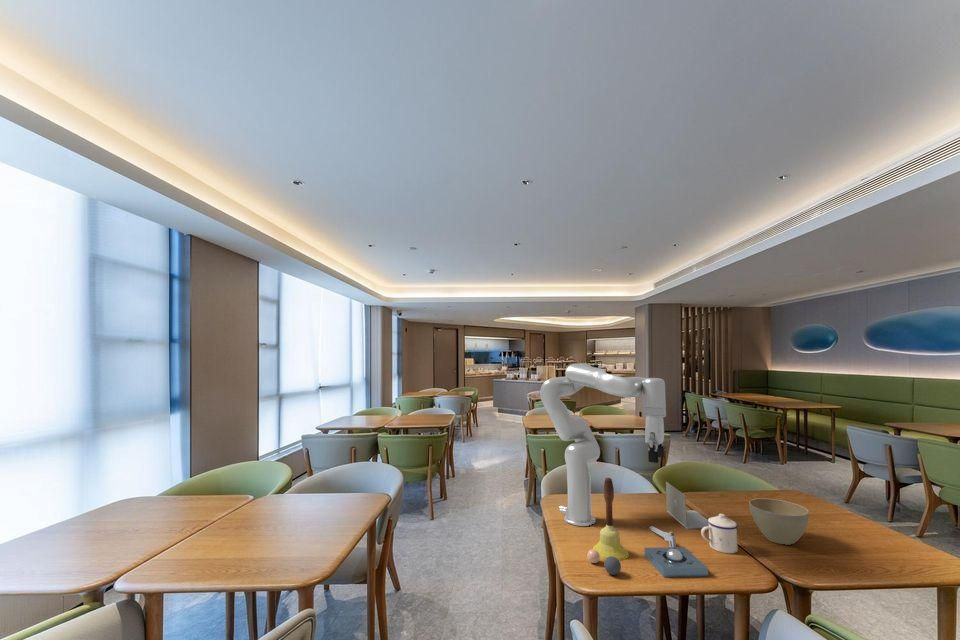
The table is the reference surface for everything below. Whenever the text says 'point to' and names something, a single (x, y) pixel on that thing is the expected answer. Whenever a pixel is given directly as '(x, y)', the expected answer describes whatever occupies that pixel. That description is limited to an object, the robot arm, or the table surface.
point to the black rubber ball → (612, 565)
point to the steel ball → (674, 556)
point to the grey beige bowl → (779, 519)
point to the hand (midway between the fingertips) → (656, 459)
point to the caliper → (665, 536)
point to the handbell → (610, 530)
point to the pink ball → (593, 556)
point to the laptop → (683, 509)
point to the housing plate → (672, 569)
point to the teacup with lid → (721, 534)
